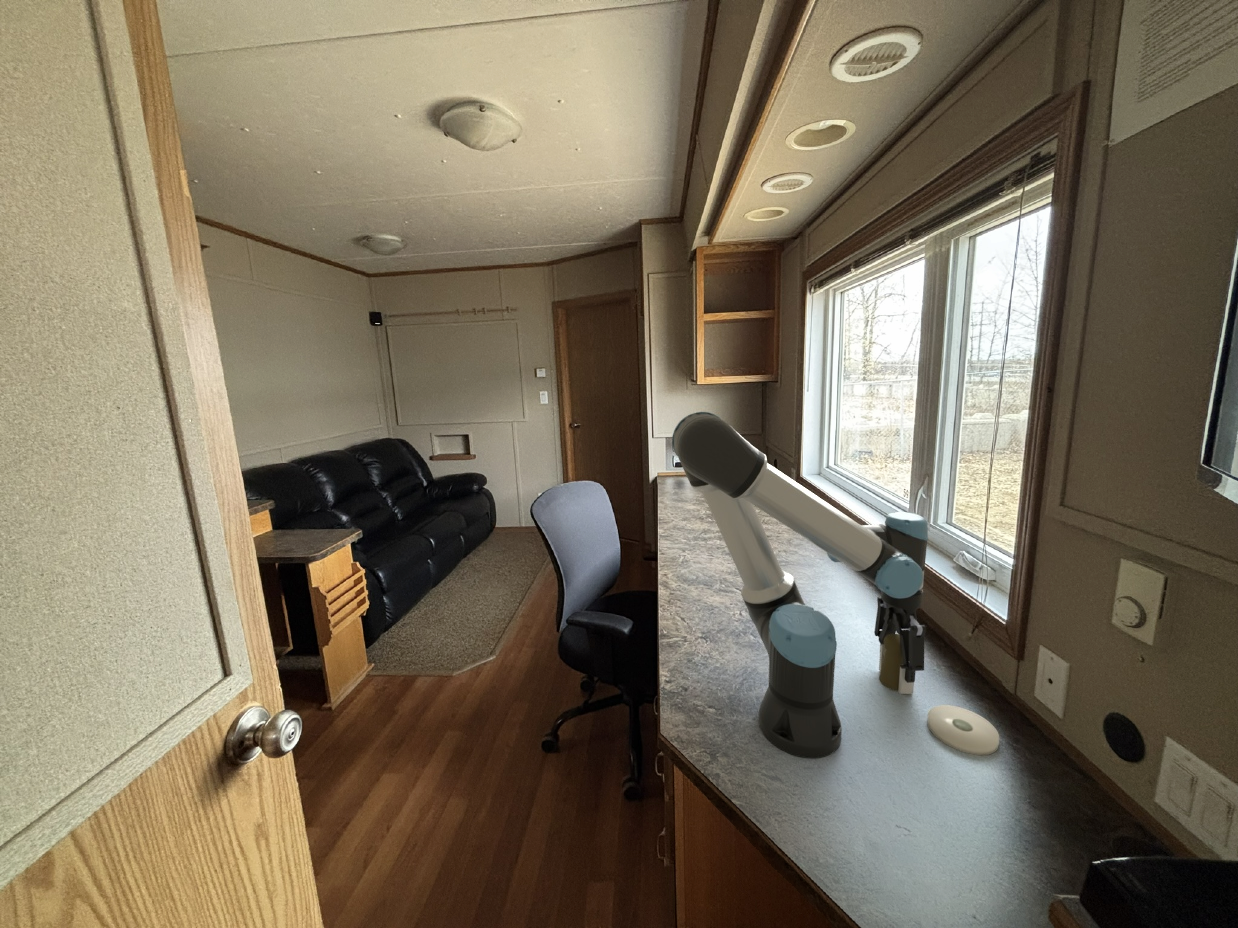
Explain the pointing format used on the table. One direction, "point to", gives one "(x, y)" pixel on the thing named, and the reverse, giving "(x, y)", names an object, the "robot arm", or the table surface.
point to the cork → (891, 662)
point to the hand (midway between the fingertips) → (895, 680)
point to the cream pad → (963, 730)
